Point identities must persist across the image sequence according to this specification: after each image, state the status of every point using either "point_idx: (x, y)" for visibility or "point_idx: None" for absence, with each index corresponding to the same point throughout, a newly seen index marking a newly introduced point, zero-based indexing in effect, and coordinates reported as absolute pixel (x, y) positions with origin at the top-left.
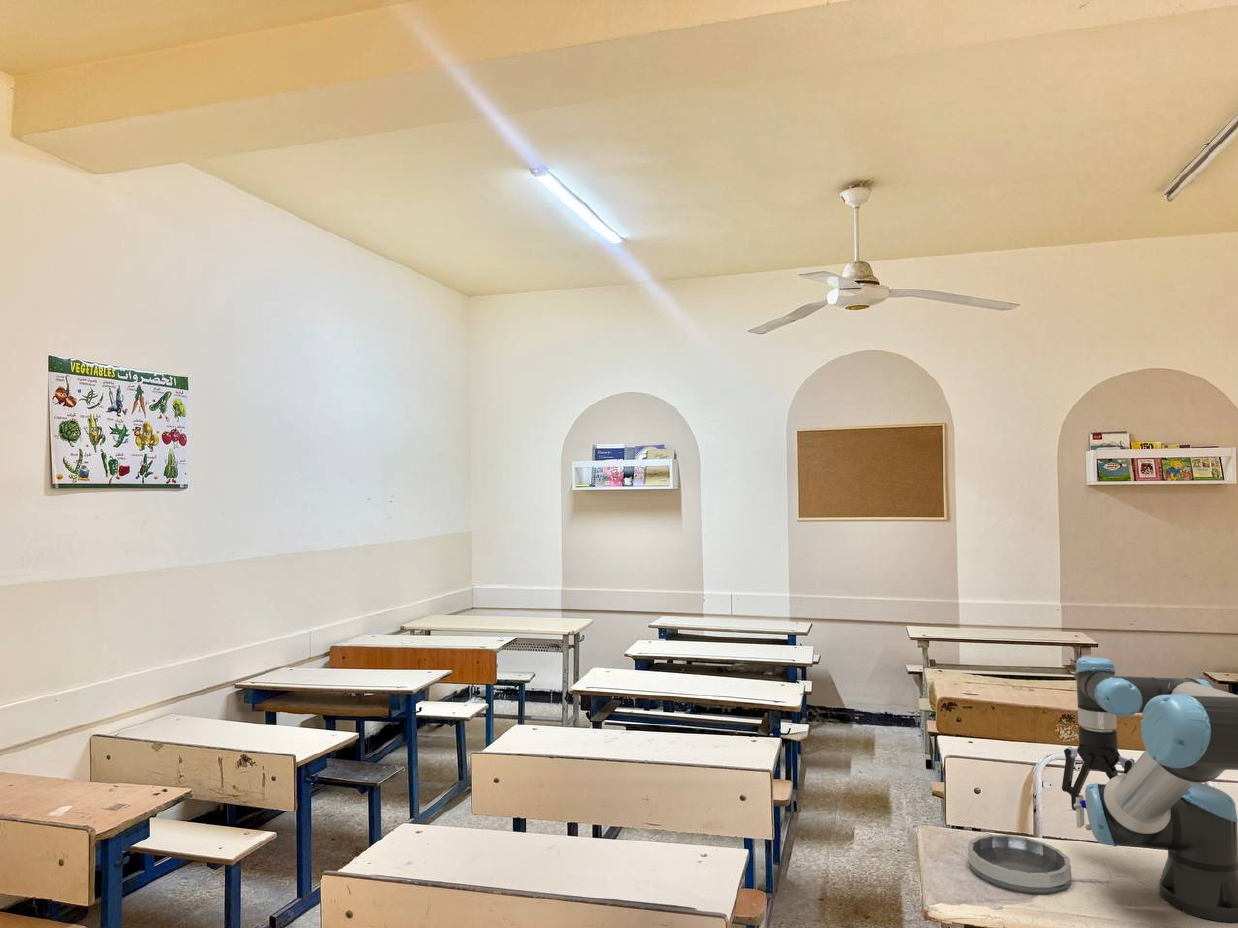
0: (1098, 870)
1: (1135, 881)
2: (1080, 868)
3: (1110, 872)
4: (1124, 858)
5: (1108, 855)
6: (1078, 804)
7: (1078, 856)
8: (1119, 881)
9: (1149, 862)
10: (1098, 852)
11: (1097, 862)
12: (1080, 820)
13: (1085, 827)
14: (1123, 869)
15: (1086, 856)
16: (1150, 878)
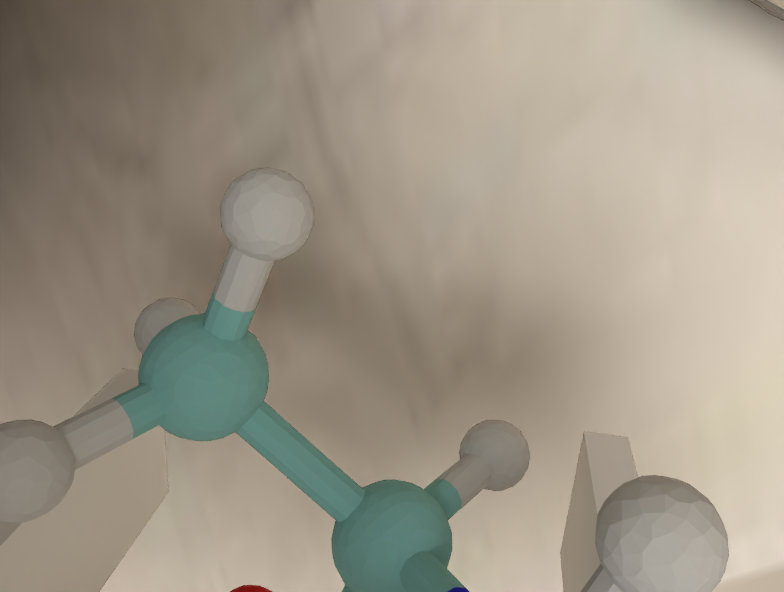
0: (410, 167)
1: (151, 143)
2: (538, 107)
3: (329, 190)
4: None
5: None
6: (621, 563)
7: (595, 346)
8: (233, 56)
9: (188, 518)
10: (482, 499)
11: (450, 319)
12: (590, 494)
13: (525, 440)
14: (274, 308)
15: (542, 382)
16: (101, 268)
